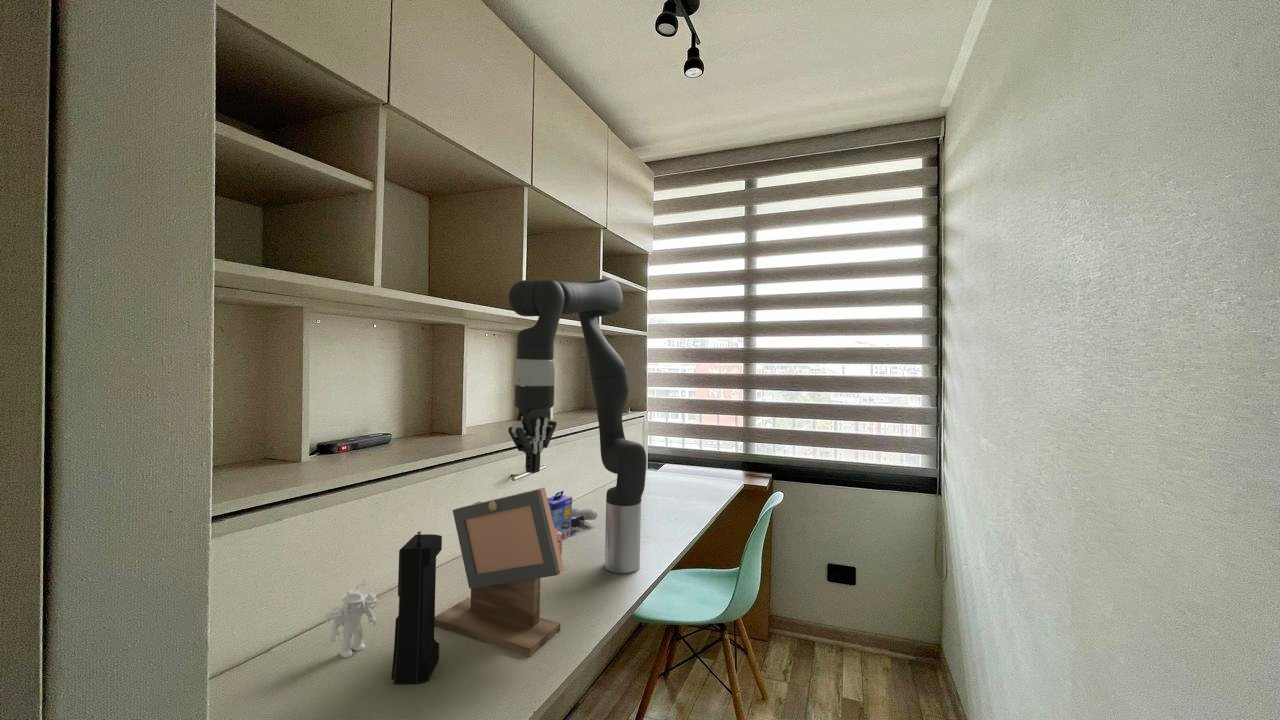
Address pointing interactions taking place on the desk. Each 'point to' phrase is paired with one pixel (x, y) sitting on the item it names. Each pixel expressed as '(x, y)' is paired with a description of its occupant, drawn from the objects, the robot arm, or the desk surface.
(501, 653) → the desk surface
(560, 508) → the ink cartridge box
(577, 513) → the clip-on lamp
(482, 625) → the frame stand
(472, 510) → the picture frame
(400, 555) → the portable radio
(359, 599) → the hat wearing toy figure
